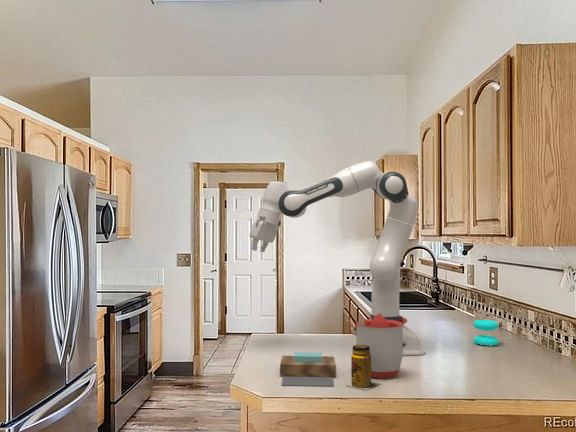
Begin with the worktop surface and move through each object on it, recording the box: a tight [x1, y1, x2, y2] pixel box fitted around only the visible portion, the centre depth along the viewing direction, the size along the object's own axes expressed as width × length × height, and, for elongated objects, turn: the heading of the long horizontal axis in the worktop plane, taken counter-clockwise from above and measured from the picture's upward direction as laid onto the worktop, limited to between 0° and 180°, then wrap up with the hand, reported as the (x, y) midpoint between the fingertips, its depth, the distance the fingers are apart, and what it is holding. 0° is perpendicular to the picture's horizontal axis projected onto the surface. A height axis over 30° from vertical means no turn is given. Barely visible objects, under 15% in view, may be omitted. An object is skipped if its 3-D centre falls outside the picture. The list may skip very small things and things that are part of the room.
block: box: [293, 351, 323, 363], centre depth 164 cm, size 9×6×2 cm, turn 87°
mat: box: [281, 377, 335, 388], centre depth 153 cm, size 16×9×1 cm, turn 88°
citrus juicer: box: [352, 313, 403, 380], centre depth 163 cm, size 16×17×20 cm
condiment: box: [345, 344, 381, 391], centre depth 150 cm, size 7×8×12 cm
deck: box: [279, 355, 337, 379], centre depth 164 cm, size 18×12×4 cm, turn 88°
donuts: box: [472, 319, 499, 346], centre depth 210 cm, size 10×10×10 cm
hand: (257, 251), depth 199 cm, fingers open, 8 cm apart
